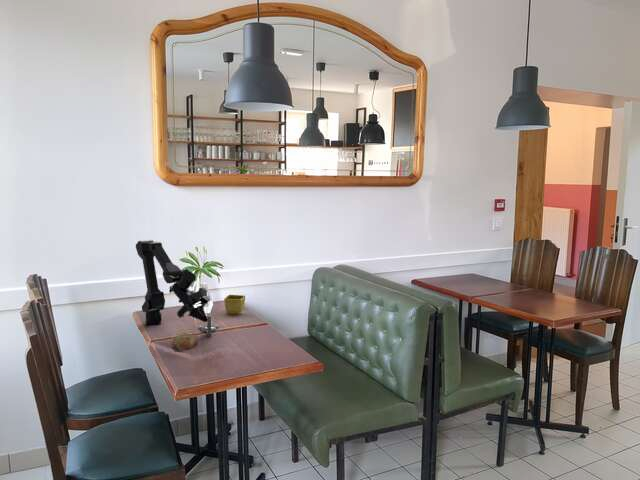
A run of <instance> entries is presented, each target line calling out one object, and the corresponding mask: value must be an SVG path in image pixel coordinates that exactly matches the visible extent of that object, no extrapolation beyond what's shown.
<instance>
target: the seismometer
mask: <svg viewBox="0 0 640 480" xmlns="http://www.w3.org/2000/svg"><path fill="white" fill-rule="evenodd" d="M206 317H207V322H206V325H199V326H198V329H199V330H201V332H203V333H206V334H207V335H206V336H207V337H208V338H211V337H212V333H213V332H215V331H216V330H217V329H218V328H219V327H220V325H219V324H214V325H213V324H212V314H211V313H210V312H207V314H206Z"/></svg>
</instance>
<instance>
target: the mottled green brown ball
mask: <svg viewBox="0 0 640 480" xmlns="http://www.w3.org/2000/svg"><path fill="white" fill-rule="evenodd" d="M197 345H198V341H197V339H196V337H195V336H194V335H192V334H190V333H182V334H178V335H176V336H175V337H173V339H172V342H171V348H172V351H173V352H175V353H182V351H181V350H184V351H187V350H191V349H194V348H195V347H196V346H197Z"/></svg>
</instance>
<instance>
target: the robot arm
mask: <svg viewBox="0 0 640 480" xmlns="http://www.w3.org/2000/svg"><path fill="white" fill-rule="evenodd" d="M135 249H136V251H137V255H138V257H140V259H141V260H142V266H143V271H144V277H145V282H146V293H145V295H144V302H143V304H142V305H141V311H142V312H144V313H145V324H144V325H145V326H158V325H161V323H162V321H163V313H162V312H161V311H163V310H165V305H166V297H165V293H164V291H161V290H160V289H159V288H160V287H159V284H158V283H159V282H158V278H157V271H156V266H155V259H156V261H157V262H158V264H159V266H160V268H161V270H162V277H163V280H164V282H165V283H167V284H172V285H170V286H169V293H170V294H171V293H174V295H175V296H176V297H177V298H178V303H181V304H183V306H181V308H179V310H178V311H177V313H176V315H177V317H178V318H179V319H181V318H184V317H185V314H186V313H188V315H187V316H188V317H191V318H194V319H197V320H199V321H202V322H203V323H207V314H206V312H205V306H206V305H207V304H208V303H209V302H210V301H211V298H210V297H209V295H208V290H207V289H206V287H204V286H201V287H199V288H198V291H194V290H190V289H189V288H190V287H191V286H192V285H193V283H194V282H195V281H196V277H197V276H196V274H194V272H192V271H190V270H189V269H187V268H185V269H182V270H181V268H180V267H179V266H178V265H176V264H174V263H173V262H172V260H171V258H170V257H169V255H168V253H167V252H166V250H165V248H164V247H163V244H162V242H161V241H154V240H153V239H147V240H145V239H143V240H139V241H137V243H136V244H135ZM154 258H155V259H154Z"/></svg>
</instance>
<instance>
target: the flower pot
mask: <svg viewBox="0 0 640 480" xmlns="http://www.w3.org/2000/svg"><path fill="white" fill-rule="evenodd" d="M223 300H224V309H225V312H226V313H227V314H233V315H240V314H242V312H243V310H244V307H245V300H246V295H242V294H241V295H239V294H228V295H226V296H225V297H224V299H223Z"/></svg>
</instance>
